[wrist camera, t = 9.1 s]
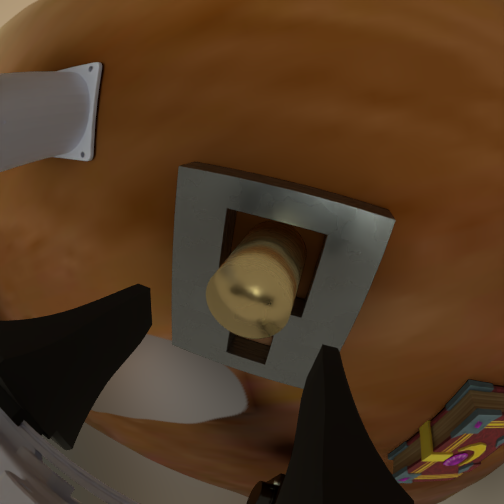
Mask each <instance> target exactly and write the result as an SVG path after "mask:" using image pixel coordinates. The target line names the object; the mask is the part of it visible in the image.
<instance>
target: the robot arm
mask: <svg viewBox="0 0 504 504" xmlns="http://www.w3.org/2000/svg"><path fill="white" fill-rule="evenodd" d="M92 68H93V69H92ZM101 72H102V64H101V63H99V62H94V63H89V64H85V65H80V66H75V67H71V68H67V69H63V70H59V71H56V72H53V71H46V72H17V73H3V74H0V172H2V171H5V170H8V169H11V168H14V167H18V166H21V165H24V164H28V163H31V162H35V161H38V160H42V159H46V158H49V157H57V158H66V159H74V160H82V161H90V160H92V158H93V155H94V135H95V121H96V110H97V101H98V93H99V85H100V78H101ZM84 154H85V156H84ZM151 326H152V315H151V297H150V288H148V287H145V286H143V285H140V284H136V285H134V286H131V287H128V288H126V289H123V290H121V291H118V292H116V293H114V294H111V295H109V296H106V297H104V298H101V299H99V300H96V301H94V302H91V303H88V304H86V305H83V306H80V307H77V308H75V309H71V310H68V311H65V312H61V313H57V314H54V315H49V316H44V317H38V318H33V319H25V320H13V321H0V504H82V503H81V502H79V501H78V500H76V499H75V498H74V497H72V496H71V494H72V492H73V491H74V490H75V489H74V487H73V486H72V485H70V484H69V483H68V482H66V481H65V480H64V479H63V478H61V477H60V476H58V474H56V473H55V472H54V471H52V470H51V469H50V468H49V467H48V466H47V465H45V464H44V463H43V461H42V455H43V456H44V457H45V458H46V459H47V460H49V461H50V462H51V463H52V464H53V465H54V466H56V467H57V468H58V469H60V470H61V471H62V472H63V473H64V474H66V475H67V476H69V477H70V478H71V479H72V480H74V481H75V482H76V483H78V484H79V485H81V486H82V487H83V488H85V489H86V490H88V491H89V492H91V493H92V494H94V495H95V496H97V497H98V498H100V499H102V500H103V501H105V502H106V503H108V504H140V503H138V502H136V501H134V500H132V499H130V498H128V497H126V496H125V495H123V494H121V493H119V492H118V491H116V490H114V489H113V488H111V487H109V486H108V485H106V484H105V483H103V482H101V481H99V480H98V479H97V478H95V477H94V476H92V475H91V474H89V473H88V472H86V471H85V470H83V469H82V468H80V467H79V466H78V465H76V464H75V463H74V462H72V461H71V460H70V459H68V458H67V457H66V456H64V455H63V454H62V453H61V452H59V451H58V450H57V449H56V448H55V447H53V446H52V445H51V444H50V443H49V442H47V441H46V440H45V439H44V438H43V437H42V436H41V435H42V434H43V435H44V436H45V437H47V438H48V439H50V438H51V439H52V440H54V441H55V442H56V443H57V444H58V445H60V446H61V447H62V448H63V449H65V450H70V449H72V448H73V446H74V443H75V441H76V438H77V436H78V434H79V432H80V429H81V427H82V425H83V423H84V421H85V419H86V417H87V415H88V413H89V412H90V410H91V408H92V406H93V405H94V403H95V401H96V399H97V398H98V396H99V394H100V393H101V391H102V390H103V388H104V387H105V385H106V384H107V382H108V381H109V380H110V378H111V377H112V376H113V374H114V373H115V372H116V371H117V370H118V369H119V367H120V366H121V365H122V364H123V363H124V362H125V360H126V359H127V358H128V357H129V356H130V355H131V354H132V352H133V351H134V350H135V349H136V348H137V346H138V345H139V344H140V343H141V341H142V340H143V338H144V337H145V335H146V334H147V332H148V330H149V329H150V327H151ZM41 454H42V455H41ZM275 504H414V501H413V500H412V498H411V497H410V496H409V495H408V494H407V493H406V492H405V490H404V489H403V488H402V487H401V486H400V485H399V483H398V482H397V481H396V479H395V478H394V477H393V475H392V474H391V473H390V471H389V470H388V468H387V467H386V465H385V463H384V462H383V460H382V459H381V457H380V455H379V454H378V452H377V451H376V449H375V447H374V445H373V443H372V441H371V439H370V438H369V436H368V433H367V431H366V429H365V427H364V425H363V423H362V420H361V418H360V416H359V413H358V411H357V408H356V405H355V403H354V400H353V397H352V394H351V391H350V388H349V385H348V382H347V379H346V375H345V372H344V368H343V364H342V360H341V356H340V352H339V350H338V348H335V347H331V346H327V345H324V344H322V346H321V349H320V351H319V353H318V355H317V357H316V359H315V361H314V364H313V366H312V368H311V370H310V372H309V374H308V376H307V378H306V382H305V386H304V390H303V394H302V398H301V403H300V410H299V416H298V423H297V429H296V435H295V441H294V447H293V452H292V456H291V459H290V463H289V466H288V469H287V472H286V475H285V478H284V481H283V484H282V487H281V490H280V493H279V495H278V498H277V501H276V503H275Z"/></svg>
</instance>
